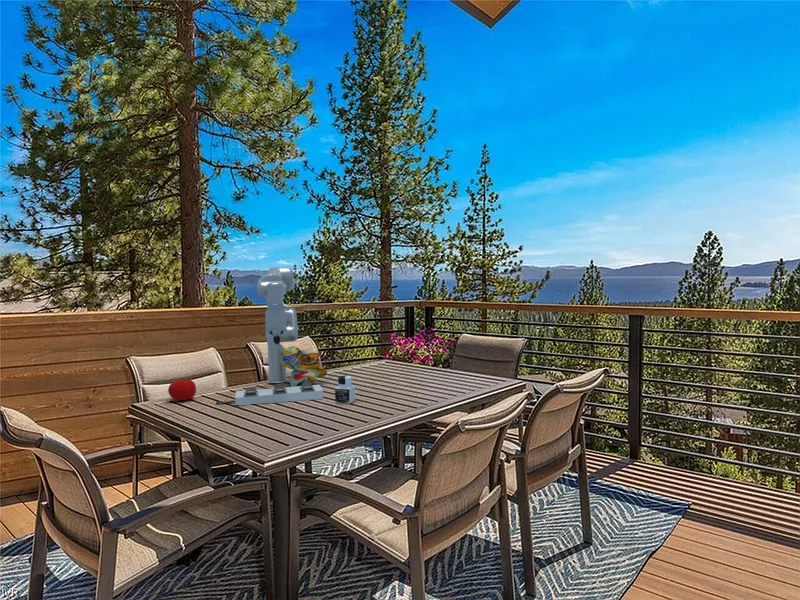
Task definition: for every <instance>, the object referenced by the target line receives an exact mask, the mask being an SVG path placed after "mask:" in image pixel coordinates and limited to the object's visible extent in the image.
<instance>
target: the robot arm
mask: <svg viewBox="0 0 800 600" xmlns="http://www.w3.org/2000/svg"><path fill="white" fill-rule="evenodd" d="M256 284H257V285H256V292H257V294H258V295H259V297H264V298H265V299H266V304H267V305H266V306H267V310H266V311H265V320H264V321H265V322H264V323H265V331H264V332H265V337H266V338H265V339H266V344H267V360H268V361H267V363H268V379H266V380H265V382H269V383H280V384H285V383H284V382H286V383H288V381H289V382H290V377H289V378H288V377H287V368H286V367H282V366H283V364H281V362H280V358H281V355H282V353H283V351H285V349H286V348H285V347H284V346H283V344H281V343H291V342H293V343H294V342H296V341H297V340H298V338H299V328H298V316H297V311H296V309H295V308H294V307H292V306H291V307H290V306H289V307H288V306H287V304H284V295H285V294H286V292H291V291H292V290H293V289H294V272H293V270H292V268H291V267H288V266H281V267H279V266H277V267H275V266H274V267H270V268H269V269H267V271H266V273H265V275H264V276H262V277H260V278H258V281H257V283H256ZM269 383H268V384H269Z"/></svg>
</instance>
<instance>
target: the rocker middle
mask: <svg viewBox="0 0 800 600" xmlns="http://www.w3.org/2000/svg"><path fill="white" fill-rule="evenodd" d="M284 384H285V383H281V384H273V386H274V387H273V388H275V393H279V392H285V390H284V387H285V385H284Z"/></svg>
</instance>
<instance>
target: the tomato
mask: <svg viewBox="0 0 800 600" xmlns="http://www.w3.org/2000/svg"><path fill="white" fill-rule="evenodd" d="M196 385H197V384H196V383H195V382H194V381H193V380H192V379H190V378H183V377H182V379H177V380H174V381H172V382H171V383H170V385H169V386H168V389H167V392H168V395H169V396H170V397H171V398H172V399H173V400H175V401H177V400H185V401H188V400H187V399H189V400H192V399H193V398H194V396H195V395H196V393H197V387H196ZM191 398H192V399H191Z"/></svg>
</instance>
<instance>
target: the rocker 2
mask: <svg viewBox="0 0 800 600" xmlns="http://www.w3.org/2000/svg"><path fill="white" fill-rule="evenodd" d="M312 385H313V383H312V384H311V382H310V383H305V382H302V383H301V386H302V388H303V391H304V390H313V388H312Z"/></svg>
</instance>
